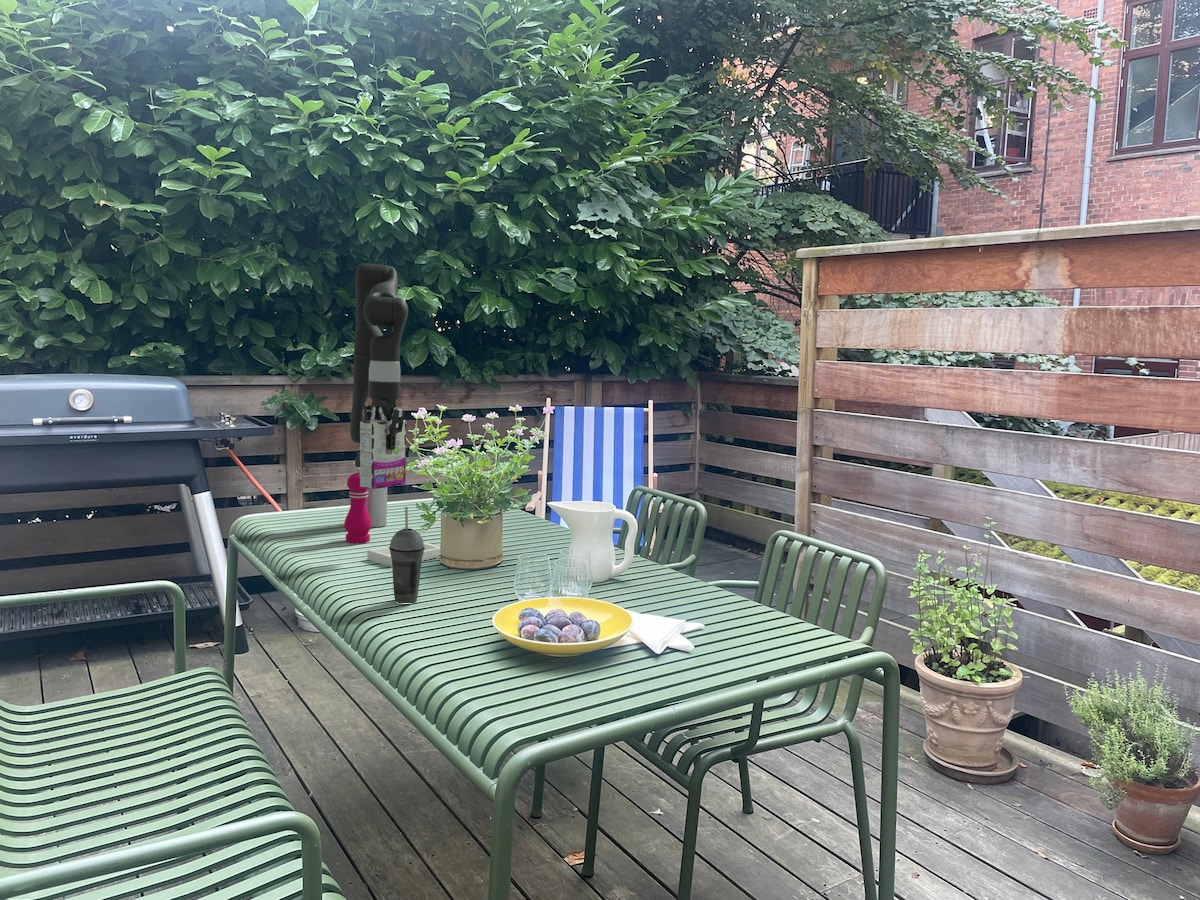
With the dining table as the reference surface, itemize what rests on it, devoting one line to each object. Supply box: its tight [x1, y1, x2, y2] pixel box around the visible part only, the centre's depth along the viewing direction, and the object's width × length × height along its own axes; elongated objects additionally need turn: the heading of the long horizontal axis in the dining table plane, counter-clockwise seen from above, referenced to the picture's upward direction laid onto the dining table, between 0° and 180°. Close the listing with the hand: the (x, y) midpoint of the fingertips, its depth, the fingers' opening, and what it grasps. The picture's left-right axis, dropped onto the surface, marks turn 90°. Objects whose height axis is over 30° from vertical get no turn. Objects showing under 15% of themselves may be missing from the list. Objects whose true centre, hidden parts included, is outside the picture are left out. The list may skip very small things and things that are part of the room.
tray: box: [366, 542, 441, 568], centre depth 221 cm, size 10×16×2 cm, turn 141°
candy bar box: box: [359, 419, 407, 489], centre depth 218 cm, size 11×5×16 cm, turn 147°
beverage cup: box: [389, 506, 425, 604], centre depth 184 cm, size 7×7×20 cm
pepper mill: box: [343, 467, 373, 544], centre depth 236 cm, size 7×7×20 cm
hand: (383, 448), depth 218 cm, fingers closed on candy bar box, 5 cm apart
